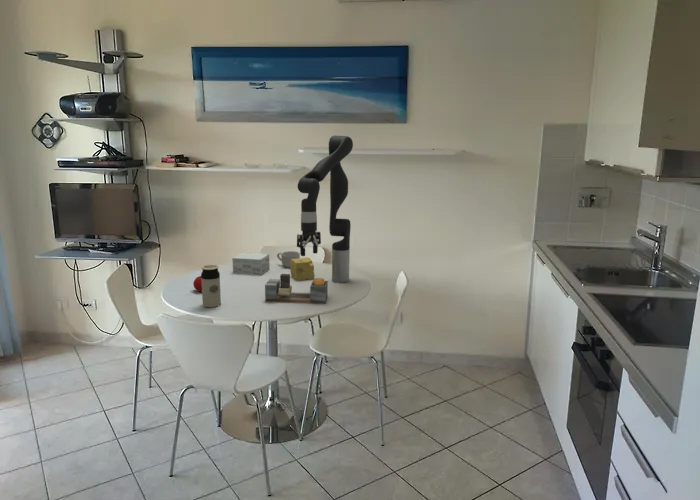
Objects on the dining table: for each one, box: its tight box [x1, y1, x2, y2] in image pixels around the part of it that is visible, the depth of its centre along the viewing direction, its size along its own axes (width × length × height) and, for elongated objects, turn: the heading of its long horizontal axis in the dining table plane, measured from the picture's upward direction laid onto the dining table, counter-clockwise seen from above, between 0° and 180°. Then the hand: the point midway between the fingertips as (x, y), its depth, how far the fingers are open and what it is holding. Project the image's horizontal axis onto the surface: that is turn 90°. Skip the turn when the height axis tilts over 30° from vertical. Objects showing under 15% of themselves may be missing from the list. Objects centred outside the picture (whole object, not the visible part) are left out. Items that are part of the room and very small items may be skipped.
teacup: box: [276, 250, 301, 269], centre depth 301 cm, size 14×11×8 cm
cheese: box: [289, 256, 316, 282], centre depth 278 cm, size 10×11×10 cm
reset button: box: [313, 277, 325, 286], centre depth 242 cm, size 5×5×4 cm
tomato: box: [193, 275, 202, 293], centre depth 254 cm, size 9×9×8 cm
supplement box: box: [231, 252, 270, 276], centre depth 289 cm, size 17×13×9 cm
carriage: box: [279, 273, 293, 295], centre depth 243 cm, size 7×5×8 cm
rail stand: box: [264, 278, 329, 305], centre depth 243 cm, size 10×28×8 cm, turn 86°
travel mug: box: [200, 264, 222, 308], centre depth 233 cm, size 8×8×18 cm
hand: (309, 254), depth 247 cm, fingers open, 8 cm apart
